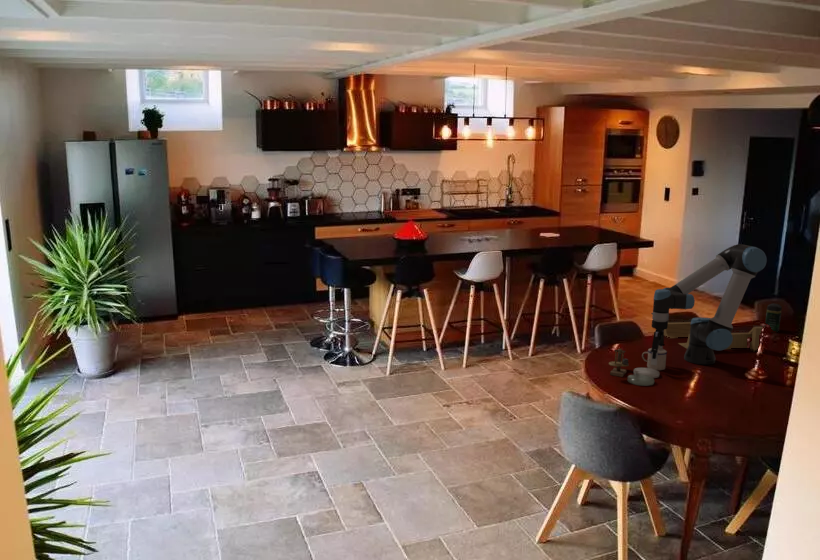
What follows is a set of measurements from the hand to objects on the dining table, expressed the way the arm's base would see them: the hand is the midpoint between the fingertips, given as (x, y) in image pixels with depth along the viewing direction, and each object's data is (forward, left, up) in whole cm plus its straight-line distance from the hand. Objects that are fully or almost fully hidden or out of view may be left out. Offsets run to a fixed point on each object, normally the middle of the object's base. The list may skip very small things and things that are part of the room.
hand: (656, 361), depth 346 cm
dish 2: (+2, +27, -3) cm, 27 cm away
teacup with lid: (+1, 0, -4) cm, 4 cm away
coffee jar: (-47, -112, -4) cm, 122 cm away
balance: (+14, +20, -3) cm, 25 cm away
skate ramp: (-19, -63, -4) cm, 66 cm away
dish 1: (+2, +14, -3) cm, 14 cm away
